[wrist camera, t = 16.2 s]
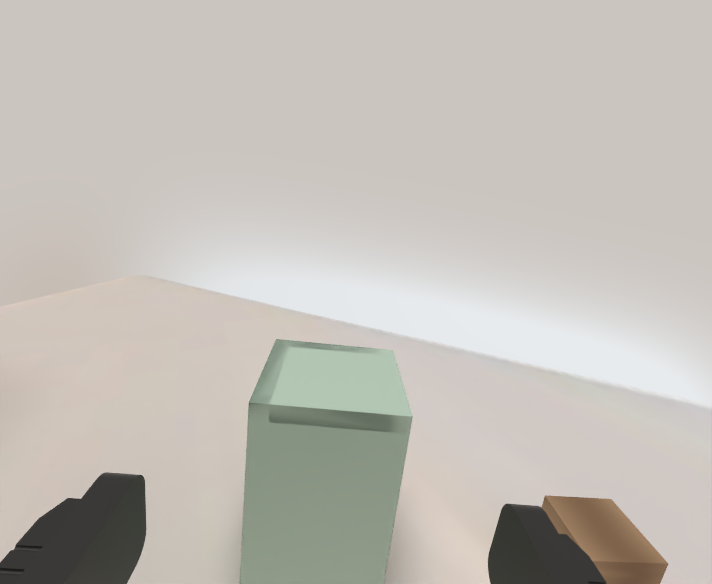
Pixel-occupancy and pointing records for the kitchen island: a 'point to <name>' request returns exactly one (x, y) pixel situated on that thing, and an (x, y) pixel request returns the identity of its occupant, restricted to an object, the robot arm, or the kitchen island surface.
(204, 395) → the kitchen island surface
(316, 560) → the tall sage green box
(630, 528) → the walnut block
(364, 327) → the kitchen island surface
